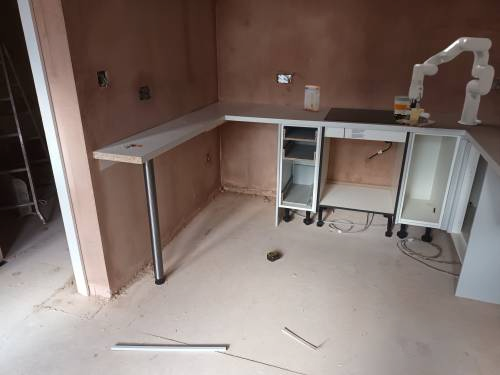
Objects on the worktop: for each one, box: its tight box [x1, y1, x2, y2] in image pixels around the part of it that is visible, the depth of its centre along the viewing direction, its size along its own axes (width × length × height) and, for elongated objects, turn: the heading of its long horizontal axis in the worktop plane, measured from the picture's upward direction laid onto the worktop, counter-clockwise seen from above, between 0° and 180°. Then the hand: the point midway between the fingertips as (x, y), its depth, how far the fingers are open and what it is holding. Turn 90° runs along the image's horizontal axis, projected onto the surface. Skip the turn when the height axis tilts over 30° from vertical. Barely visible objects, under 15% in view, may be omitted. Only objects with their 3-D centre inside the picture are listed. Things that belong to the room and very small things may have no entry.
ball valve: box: [405, 107, 431, 122], centre depth 284 cm, size 18×6×9 cm, turn 36°
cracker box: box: [303, 84, 321, 112], centre depth 333 cm, size 14×6×21 cm, turn 30°
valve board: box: [395, 115, 436, 128], centre depth 285 cm, size 20×20×4 cm
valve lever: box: [407, 103, 421, 109], centre depth 280 cm, size 11×3×4 cm, turn 113°
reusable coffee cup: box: [393, 95, 411, 115], centre depth 312 cm, size 13×13×15 cm
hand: (413, 108), depth 275 cm, fingers closed
